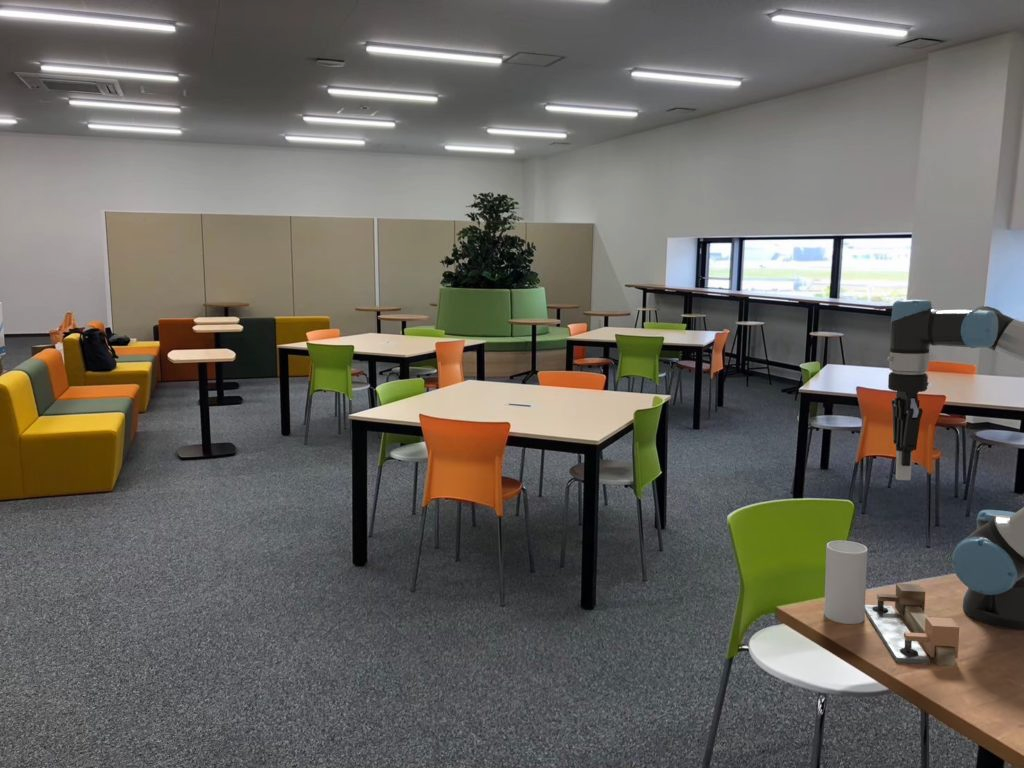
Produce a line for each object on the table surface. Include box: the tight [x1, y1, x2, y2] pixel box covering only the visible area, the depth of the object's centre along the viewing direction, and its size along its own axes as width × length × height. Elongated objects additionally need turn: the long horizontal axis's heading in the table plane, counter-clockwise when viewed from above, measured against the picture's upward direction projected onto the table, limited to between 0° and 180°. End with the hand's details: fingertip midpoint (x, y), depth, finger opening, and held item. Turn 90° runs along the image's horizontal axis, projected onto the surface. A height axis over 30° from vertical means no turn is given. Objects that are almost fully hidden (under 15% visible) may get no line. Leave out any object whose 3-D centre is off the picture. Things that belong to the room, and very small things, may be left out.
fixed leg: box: [876, 583, 926, 616], centre depth 173 cm, size 9×4×6 cm, turn 80°
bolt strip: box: [865, 604, 931, 665], centre depth 164 cm, size 6×25×1 cm, turn 170°
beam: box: [901, 605, 956, 667], centre depth 163 cm, size 3×25×3 cm, turn 170°
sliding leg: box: [904, 616, 960, 660], centre depth 154 cm, size 9×4×6 cm, turn 80°
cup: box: [823, 540, 868, 625], centre depth 172 cm, size 8×8×16 cm
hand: (903, 479), depth 171 cm, fingers closed
